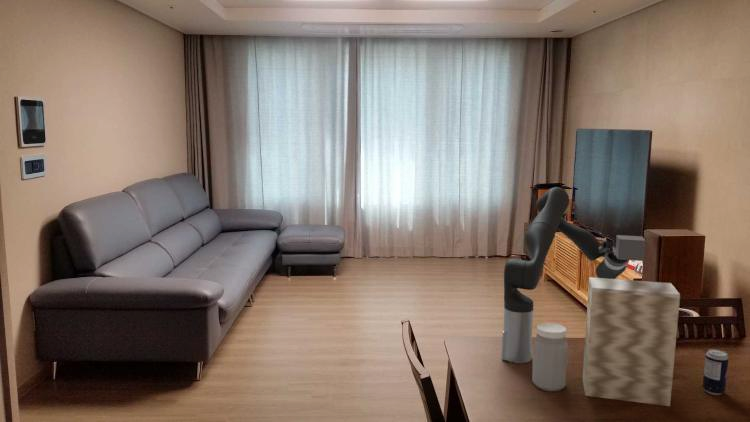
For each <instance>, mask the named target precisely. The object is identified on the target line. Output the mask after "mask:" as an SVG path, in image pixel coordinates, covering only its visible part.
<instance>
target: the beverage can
mask: <svg viewBox="0 0 750 422" xmlns="http://www.w3.org/2000/svg"><path fill="white" fill-rule="evenodd" d="M728 366H729V356H728V353H727V352H726V351H723V350H721V349H715V348H712V349H711V348H710V349H708V350H707V351H706V353H705V358H704V366H703V368H704V369H703V378H702V385H701V386H702V388H703V389H704V391H705V392H706V393H708V394H710V395H715V396H720V395H722V394H724V393H725V392H726V387H727V386H726V385H727V375H728V370H729V369H728Z"/></svg>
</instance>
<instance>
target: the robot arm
mask: <svg viewBox="0 0 750 422" xmlns="http://www.w3.org/2000/svg"><path fill="white" fill-rule="evenodd" d="M569 204H570V196H569V194H568V193H567V191H566V190H565V189H564V188H562V187H560V186H559V187H558V186H555V187H551V188H550V189H548V190H547V191H546V192H545V193H544V194H542V195H541V196H540V197H539V198H537V200H536V202H535V207H536V210H537V211H538V214H537V215H536V216H535V217H534V219H533V220H532V221H531V222H530V224H529V226H528V227H527V231H526V233H525V235H524V244H525V247H526V249H527V250H528V252H529V254H530V256H531V259H532V260H525V259H524V260H523V259H517V258H510V259H508V260H507V261H506V262H505V265H504V270H503V302H504V304H503V305H504V306H503V326H502V327H503V328H502V339H501V340H502V341H501V342H502V344H501V345H502V346H501V360H502V361H506V360H507V362H508V361H509V362H508V363H512V362H514V363H513V364H527V363H529V362H531V360H532V344H533V343H532V342H533V319H534V300H532V299H531V298H530V297H529V296H527V295H525V294H523V293H522V292H521V291H520V290H519V289H521V290H526V291H528V290H529V291H532V290H535V289H536V288H537V286H538V285H539V283H540V279H541V276H542V273H543V268H544V264H545V262H546V258H547V256H548V253H549V251H550V249H551V246H552V243H553V241H554V239H555V236H556V233H557V230H558V231H560V232H561V233H562V234H563V235H564V236H566V237H567V238H568V239H569V240H570V241H571V242H572V243H573V244H574V245H575V246H576V247H577V248H578V249H579V250H580V251H581V252H582V254H583V255H584V256H585V257H586V258H587V259H588V260H589V261H591V262H592V261H595V260H597V259H599V258H602V257H603V260H602V261H601V262H600V263H598V265H597V266H596V268H595V275H596V278H606V279H617V278H618V277H619V276H620V275H622V273H624V272H625V271H626V270H627V269H626V268H627V266H626V265H627V264H629V262H630V260H620V259H617V257H616V255H615V251H616V238H614V239H612V241H611V240H609V239H608V240H605V241H603V242H602V243H601V242H600V241H599V240H598V239H597V238H596V236H595V235H594V234H593V233H592V232H590V231H589V230H587V229H585V228H582V227H580V226H578V225H576V224H573V223H570V222H569V221H567V220H566V219H565V218H564V217H563V215H564V213H566V211H567V209H568V208H569V206H570V205H569Z"/></svg>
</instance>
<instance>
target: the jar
mask: <svg viewBox="0 0 750 422" xmlns="http://www.w3.org/2000/svg"><path fill="white" fill-rule="evenodd" d="M536 333H537V334H536V336H535V338H534V341H533V353H532V374H531V375H532V376H531V377H532V378H531V381H532V382H533V384H534V385H535V387H537V388H538V389H540V390H542V391H547V392H558V391H561V390H562V389H564V388H565V387H566V384H567V383H566V382H567V369H568V368H567V367H568V351H569V350H568V349H569V343H568V341H567V340H566V339H567V327H565V326H564V325H563V324H559V323H556V322H542V323H539V324H537V326H536Z"/></svg>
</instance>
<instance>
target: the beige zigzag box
mask: <svg viewBox="0 0 750 422" xmlns="http://www.w3.org/2000/svg"><path fill="white" fill-rule="evenodd" d="M587 290H588V292H587V306H586V309H587V310H586V321H585V322H586V323H585V334H584V353H583V368H582V369H583V370H582V383H583V384H582V385H583V389H584V390H583V391H584V396H585V397H586V396H587V397H594V398H602V399H609V400H618V401H625V402H635V403H641V404H648V405H656V406H657V405H658V406H665V407H671V399H672V387H673V378H674V377H673V376H674V368H675V367H674V366H675V358H676V357H675V354H676V345H677V334H678V333H677V332H678V323H679V313H680V312H679V311H680V300H681V294H680V292H679V291H678V290H677V289H676V287H675V286H674V285H673V284H672V282H660V281H645V280H631V279H619V278H618V279H617V278H615V279H606V278H598V277H593V276H592V277H590V276H589V277H588V288H587Z"/></svg>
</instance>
